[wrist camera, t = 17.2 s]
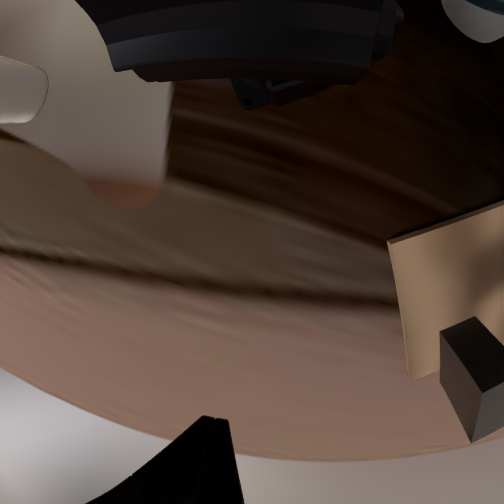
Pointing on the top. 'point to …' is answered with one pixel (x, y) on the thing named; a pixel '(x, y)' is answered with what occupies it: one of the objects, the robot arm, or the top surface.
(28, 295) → the top surface
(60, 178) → the top surface
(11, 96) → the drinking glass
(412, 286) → the shaft stand
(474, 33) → the lotion bottle
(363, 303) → the top surface
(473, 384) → the shaft
